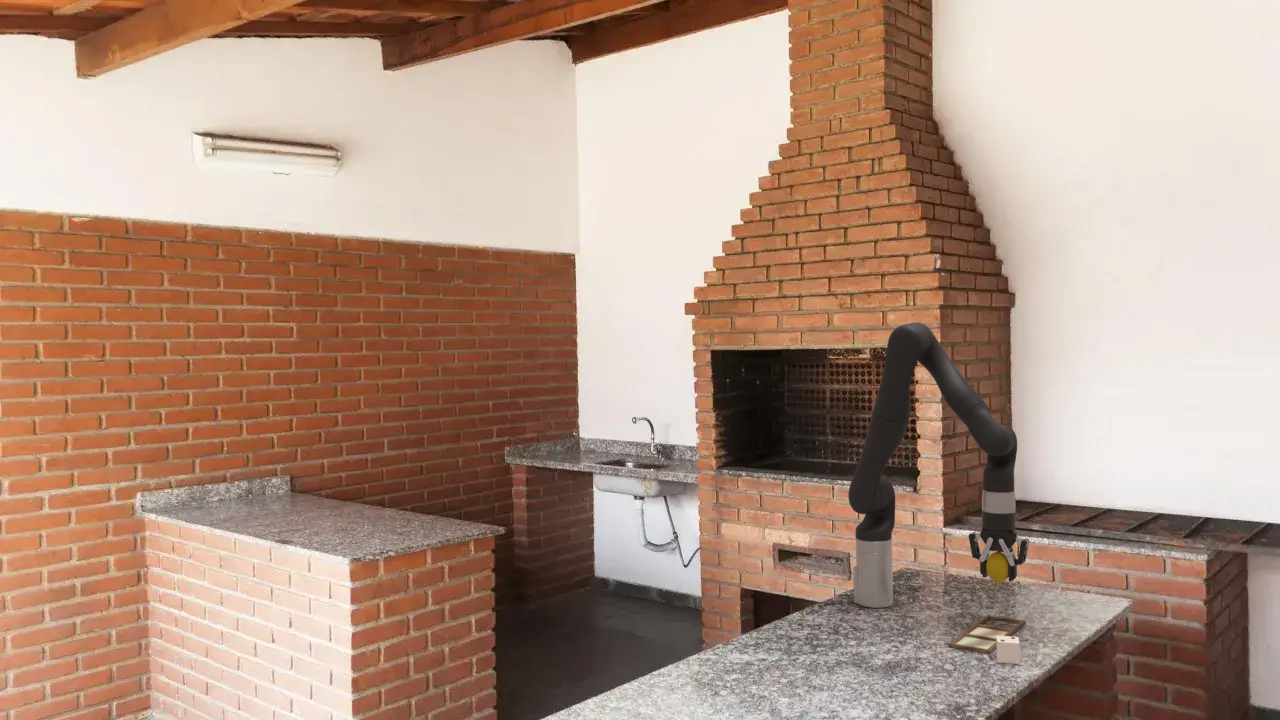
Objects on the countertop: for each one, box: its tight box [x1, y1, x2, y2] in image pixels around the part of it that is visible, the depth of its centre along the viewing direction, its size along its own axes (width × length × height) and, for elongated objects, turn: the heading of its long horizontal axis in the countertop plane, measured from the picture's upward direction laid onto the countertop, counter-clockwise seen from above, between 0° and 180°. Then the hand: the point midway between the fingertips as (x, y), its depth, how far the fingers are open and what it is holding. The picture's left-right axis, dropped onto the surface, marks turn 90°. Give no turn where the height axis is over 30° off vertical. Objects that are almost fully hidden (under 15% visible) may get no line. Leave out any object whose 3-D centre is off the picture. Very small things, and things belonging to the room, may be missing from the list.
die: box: [996, 635, 1021, 665], centre depth 214 cm, size 4×4×5 cm
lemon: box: [986, 551, 1010, 585], centre depth 238 cm, size 6×6×8 cm
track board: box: [948, 614, 1027, 655], centre depth 231 cm, size 9×26×1 cm, turn 142°
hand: (998, 578), depth 238 cm, fingers closed on lemon, 5 cm apart
